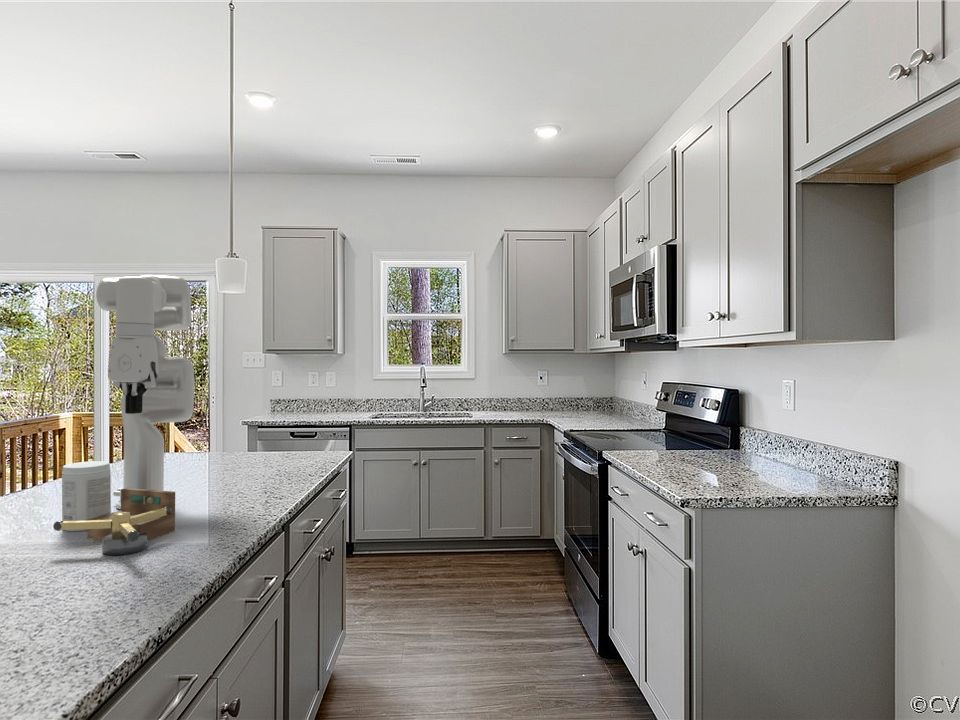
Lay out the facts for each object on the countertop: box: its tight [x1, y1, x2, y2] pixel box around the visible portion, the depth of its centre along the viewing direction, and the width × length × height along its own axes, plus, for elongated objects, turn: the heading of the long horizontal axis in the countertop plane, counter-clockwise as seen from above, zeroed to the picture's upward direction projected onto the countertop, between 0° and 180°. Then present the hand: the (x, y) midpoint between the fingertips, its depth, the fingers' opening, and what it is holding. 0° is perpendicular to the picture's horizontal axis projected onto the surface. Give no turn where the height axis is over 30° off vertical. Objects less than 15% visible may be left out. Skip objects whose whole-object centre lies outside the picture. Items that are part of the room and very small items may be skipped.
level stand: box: [86, 487, 176, 542], centre depth 136 cm, size 14×10×9 cm
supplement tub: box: [61, 460, 112, 532], centre depth 142 cm, size 10×10×15 cm
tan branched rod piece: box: [52, 506, 171, 556], centre depth 122 cm, size 22×19×7 cm
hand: (133, 413), depth 137 cm, fingers closed
